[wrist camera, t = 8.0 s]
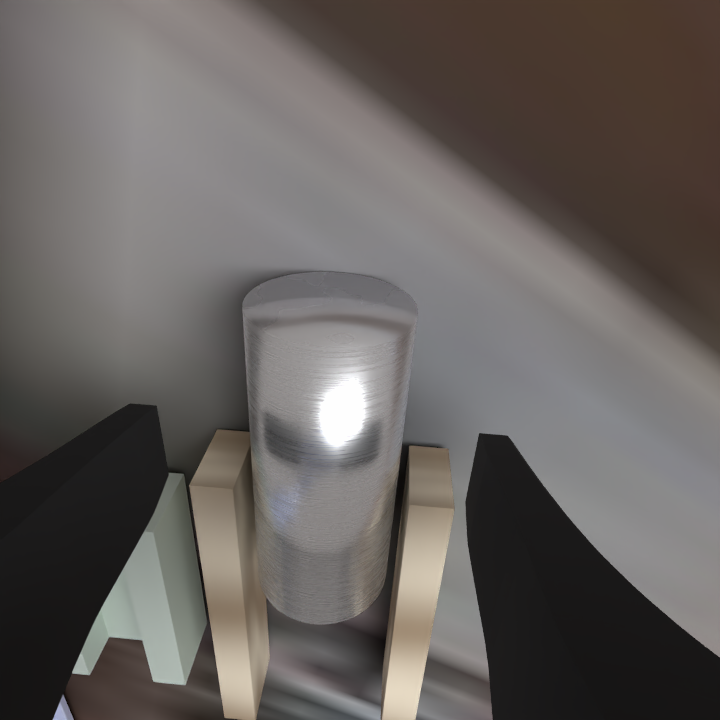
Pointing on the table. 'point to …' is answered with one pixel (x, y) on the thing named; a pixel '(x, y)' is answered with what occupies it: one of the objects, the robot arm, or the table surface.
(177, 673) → the v block
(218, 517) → the parallel rails
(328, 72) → the table surface
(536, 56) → the table surface
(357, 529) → the axle
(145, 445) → the robot arm
